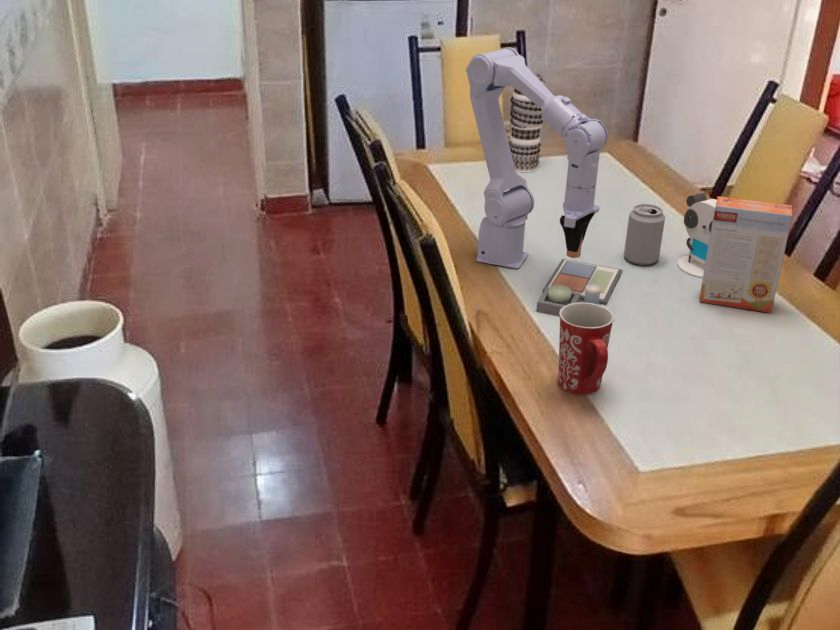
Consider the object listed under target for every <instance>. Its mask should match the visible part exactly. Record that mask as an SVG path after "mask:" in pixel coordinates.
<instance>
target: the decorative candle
mask: <svg viewBox="0 0 840 630" xmlns="http://www.w3.org/2000/svg"><path fill="white" fill-rule="evenodd" d="M532 73H533V74H534V75H535V76H536V77H537V78H538V79H539V80H540V81H541V82H542V84H543V85H544V86H545V83H546V80H545V79H543V77H542V75H541V74H538V73H536V72H532ZM513 88H514V89H513V91H512V92H513V95H512V96H511V97H510V99H509V100H510V104H511V105H510V112H509V115H510V117H511V118H510V119H509V124H510V127H511V133H510V136H509V140H508V142H509V146H510V150H511V155H512V159H513V163H514V167H515V171H516V173H522V174H525V173H526V174H527V173H528V174H529V173H534V172H537V171H538V170H539V165H540V158H541V155H540V152H541V149H540V147H541V146H542V144H541V136H540V133H541V128H542V127H543V123H544V119H543V118H542V109H541V108H539V107H538V106H537V105H536V104H534V103H533V102H532V101H531V100H530V99H528V98H527V97H526V96H525V95H523V94H522V93H521V92H520V91H518V90H517V89H516V88H515V87H513Z"/></svg>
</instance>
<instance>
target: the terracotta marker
mask: <svg viewBox="0 0 840 630" xmlns="http://www.w3.org/2000/svg"><path fill="white" fill-rule="evenodd" d="M582 237H583V236H582ZM582 245H583V243H582V239H581V243H580V247H579V249H578V251H577V252H572V251H567V250H566V256H567V257H569V258H572V259H576V258H577V259H578V258H580V257H581V255H582Z"/></svg>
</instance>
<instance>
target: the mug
mask: <svg viewBox="0 0 840 630" xmlns="http://www.w3.org/2000/svg"><path fill="white" fill-rule="evenodd" d="M565 305H566V306H564V307H562V308H561V309H560V311H559V315H558V316H559V344H558V345H559V347H558V372H557V382H558V385H559V387H560V388H562V389H563V390H564V391H565V392H567V393H571V394H574V395H582V396H583V395H590V394H591V395H592V394H594V393H596V392H598V391H599V390H600V389H601V386H602V380H603V375H604V374H605V372H606V369H607V367H608V366H607V365H608V361H609V352H608V351H609V350H608V349H609V343H610V338H611V333H612V326H613V322H614V321H615V314H614V313H613V312H612V311H611V310H610V309H609V308H607V307H606V306H603V305H602V304H599V305H597V304H593V303H584V301H583V302H581V301H580V303H572V304H570V303H569V304H568V303H567V304H565Z"/></svg>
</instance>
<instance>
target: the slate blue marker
mask: <svg viewBox="0 0 840 630" xmlns="http://www.w3.org/2000/svg"><path fill="white" fill-rule="evenodd" d="M600 291H601V287H600V286H599V285H596V284H588V285H586V287H585V297H584V301H583V303H593V304H597V305H600V304H599V297H600Z"/></svg>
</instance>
